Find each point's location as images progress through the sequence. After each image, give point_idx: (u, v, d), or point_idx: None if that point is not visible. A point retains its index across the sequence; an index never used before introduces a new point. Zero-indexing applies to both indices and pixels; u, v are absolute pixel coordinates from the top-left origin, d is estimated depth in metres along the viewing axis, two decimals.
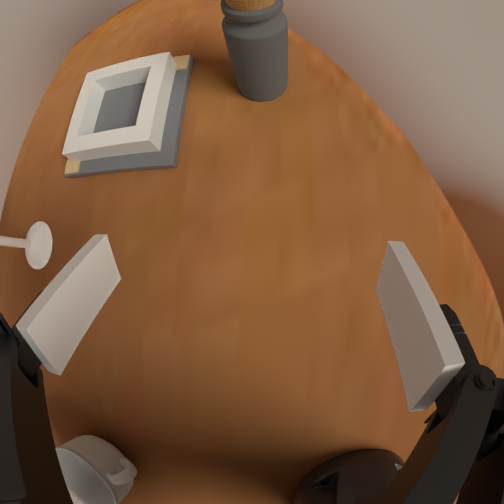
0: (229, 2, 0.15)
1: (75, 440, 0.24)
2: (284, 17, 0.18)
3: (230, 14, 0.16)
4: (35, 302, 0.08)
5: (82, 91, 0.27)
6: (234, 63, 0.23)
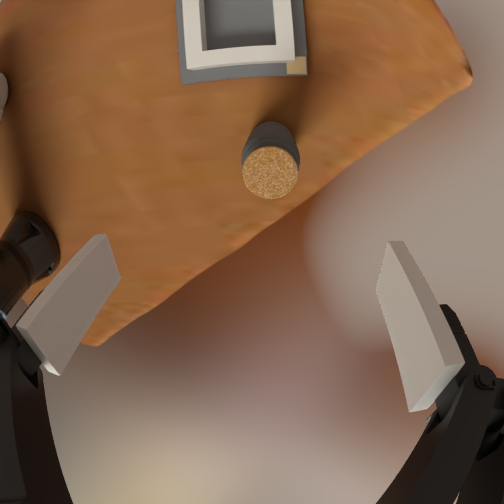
0: None
1: None
2: None
3: (247, 151, 0.24)
4: (35, 302, 0.08)
5: None
6: (253, 132, 0.30)
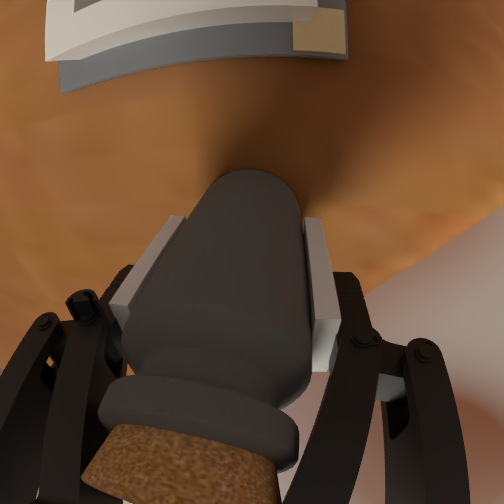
0: (99, 452, 0.04)
1: None
2: None
3: (99, 406, 0.05)
4: (128, 279, 0.10)
5: None
6: (182, 230, 0.11)
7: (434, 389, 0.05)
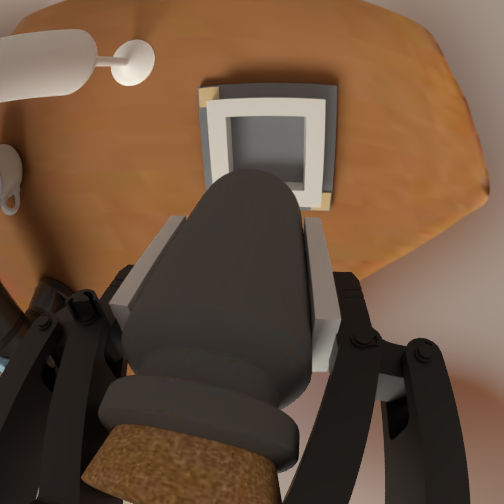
0: (99, 452, 0.04)
1: (8, 160, 0.32)
2: None
3: (100, 406, 0.05)
4: (128, 278, 0.10)
5: (292, 101, 0.26)
6: (182, 230, 0.11)
7: (434, 389, 0.05)
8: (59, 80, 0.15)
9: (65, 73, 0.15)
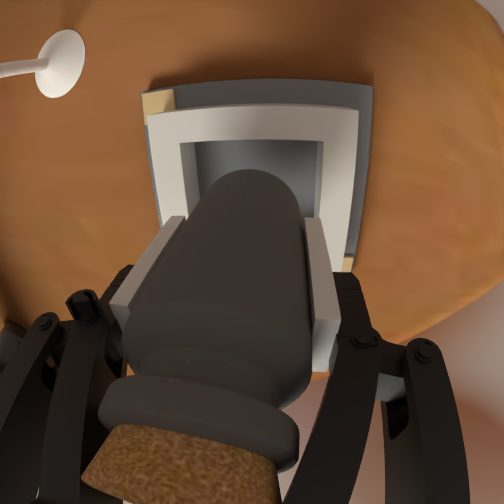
0: (99, 452, 0.04)
1: None
2: None
3: (100, 406, 0.05)
4: (128, 278, 0.10)
5: (299, 113, 0.14)
6: (182, 230, 0.11)
7: (434, 389, 0.05)
8: None
9: None
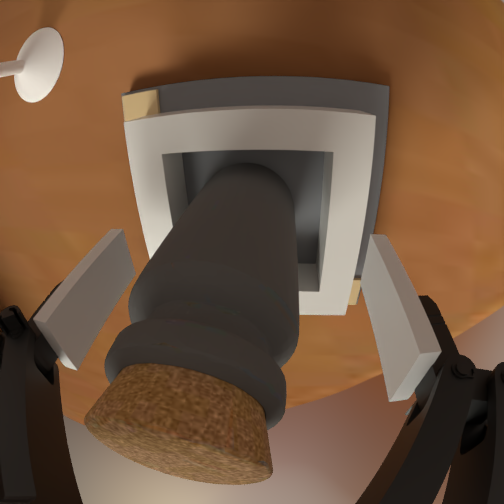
0: (104, 392, 0.05)
1: None
2: None
3: None
4: (53, 295, 0.09)
5: (304, 118, 0.12)
6: (185, 212, 0.12)
7: None
8: None
9: None
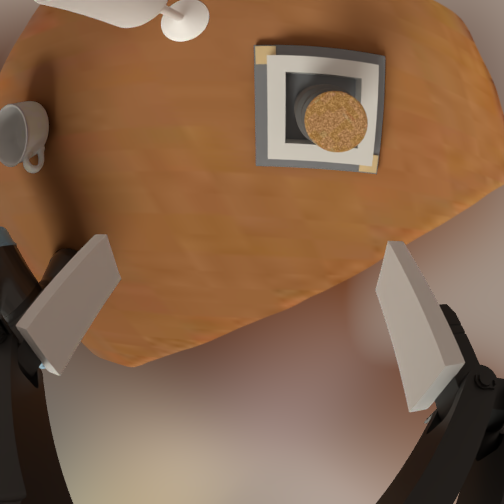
0: None
1: (36, 114, 0.30)
2: None
3: (308, 98, 0.19)
4: (35, 302, 0.08)
5: (349, 63, 0.25)
6: (305, 89, 0.25)
7: None
8: (137, 3, 0.14)
9: None
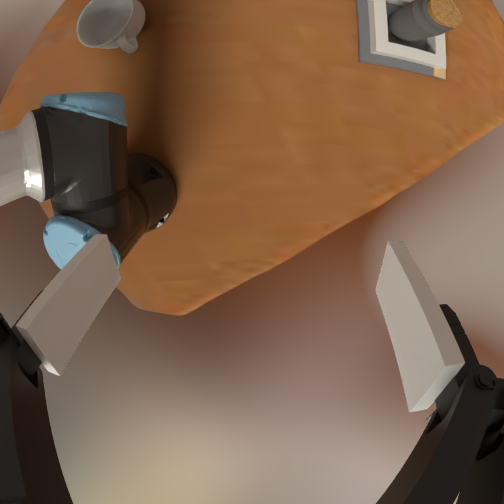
0: None
1: (138, 3, 0.28)
2: (434, 32, 0.21)
3: None
4: (35, 302, 0.08)
5: None
6: None
7: None
8: None
9: None
